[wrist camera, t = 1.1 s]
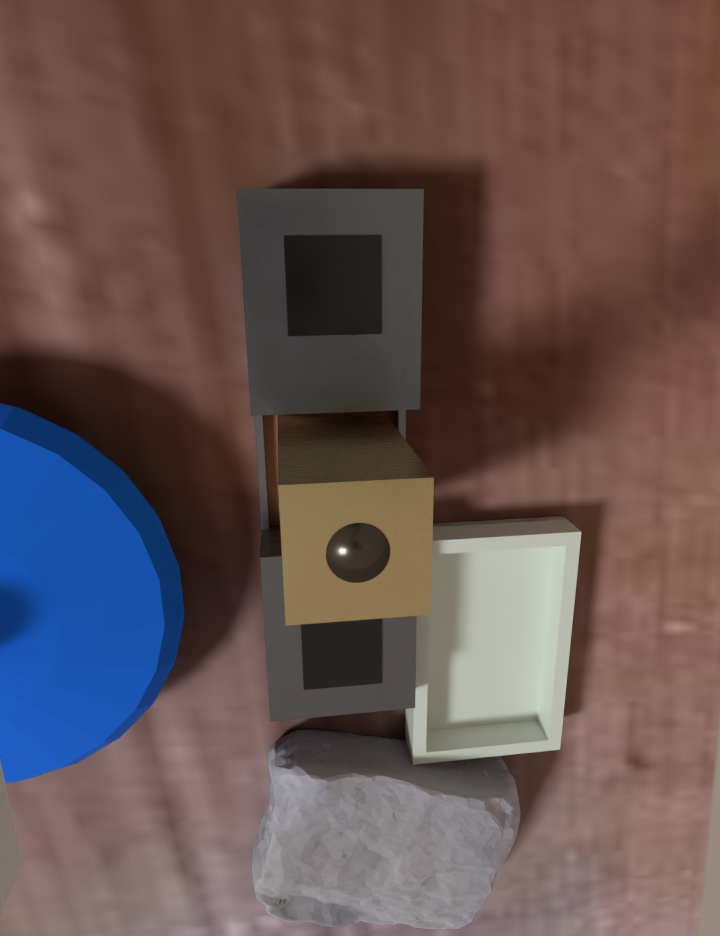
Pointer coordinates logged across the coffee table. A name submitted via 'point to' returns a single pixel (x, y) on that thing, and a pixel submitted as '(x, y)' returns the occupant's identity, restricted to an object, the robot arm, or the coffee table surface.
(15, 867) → the robot arm
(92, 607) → the blue funnel disc
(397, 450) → the wooden drawer with knob
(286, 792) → the stone block
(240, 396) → the coffee table surface
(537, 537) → the parts tray
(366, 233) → the rack rail
